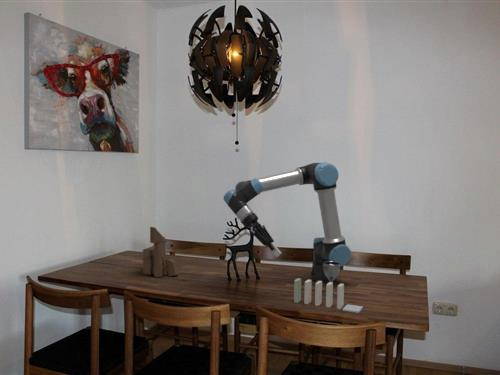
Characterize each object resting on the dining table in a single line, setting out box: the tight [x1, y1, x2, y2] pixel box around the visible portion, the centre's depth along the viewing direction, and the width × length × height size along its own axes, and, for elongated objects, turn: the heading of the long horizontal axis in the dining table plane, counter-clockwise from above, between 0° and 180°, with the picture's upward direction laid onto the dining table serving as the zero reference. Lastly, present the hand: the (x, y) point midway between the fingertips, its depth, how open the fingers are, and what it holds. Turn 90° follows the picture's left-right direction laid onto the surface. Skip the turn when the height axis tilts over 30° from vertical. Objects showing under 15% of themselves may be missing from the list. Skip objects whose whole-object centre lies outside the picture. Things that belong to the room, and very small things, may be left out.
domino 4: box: [325, 281, 334, 308], centre depth 203 cm, size 2×5×10 cm, turn 154°
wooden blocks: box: [142, 226, 180, 278], centre depth 261 cm, size 24×20×28 cm
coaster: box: [342, 303, 364, 314], centre depth 199 cm, size 8×7×1 cm
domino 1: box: [293, 277, 302, 304], centre depth 210 cm, size 2×5×10 cm, turn 154°
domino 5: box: [336, 282, 345, 310], centre depth 201 cm, size 2×5×10 cm, turn 154°
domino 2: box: [303, 279, 313, 305], centre depth 208 cm, size 2×5×10 cm, turn 154°
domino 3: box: [314, 281, 323, 307], centre depth 206 cm, size 2×5×10 cm, turn 154°
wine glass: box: [323, 261, 341, 296], centre depth 224 cm, size 8×8×15 cm
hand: (278, 255), depth 213 cm, fingers closed
